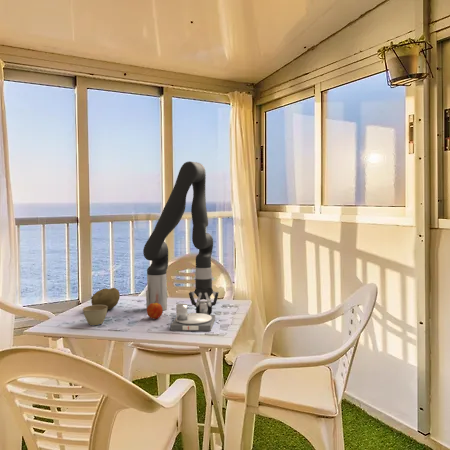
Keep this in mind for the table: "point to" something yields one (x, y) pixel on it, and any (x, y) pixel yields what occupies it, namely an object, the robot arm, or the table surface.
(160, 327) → the table surface
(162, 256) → the robot arm
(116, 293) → the decorative stone
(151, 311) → the fruit
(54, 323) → the table surface
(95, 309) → the flower pot
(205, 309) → the cylinder
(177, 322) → the scale
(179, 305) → the cylinder
